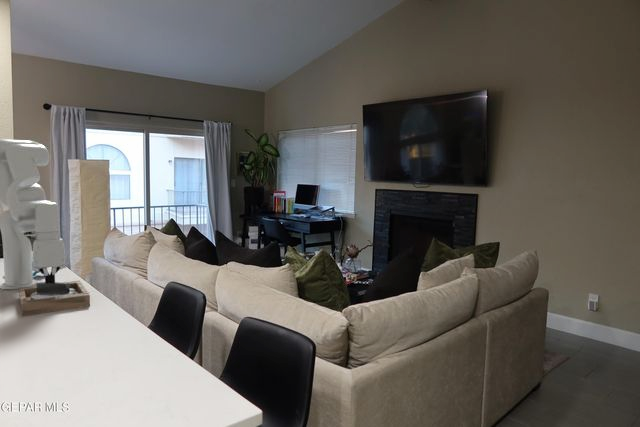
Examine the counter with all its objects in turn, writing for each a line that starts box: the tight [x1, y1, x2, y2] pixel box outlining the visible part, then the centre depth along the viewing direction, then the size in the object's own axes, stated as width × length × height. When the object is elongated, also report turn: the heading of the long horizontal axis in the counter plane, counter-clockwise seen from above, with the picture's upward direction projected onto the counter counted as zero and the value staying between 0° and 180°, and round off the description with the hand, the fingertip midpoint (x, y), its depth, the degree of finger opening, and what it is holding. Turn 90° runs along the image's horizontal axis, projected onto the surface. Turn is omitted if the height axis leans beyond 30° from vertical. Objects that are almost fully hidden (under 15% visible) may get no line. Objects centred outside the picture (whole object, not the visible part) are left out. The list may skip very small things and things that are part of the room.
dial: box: [30, 281, 76, 300], centre depth 159 cm, size 14×14×5 cm
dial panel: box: [18, 280, 91, 317], centre depth 159 cm, size 24×20×4 cm
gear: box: [32, 260, 44, 277], centre depth 195 cm, size 11×6×10 cm
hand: (50, 285), depth 162 cm, fingers closed
